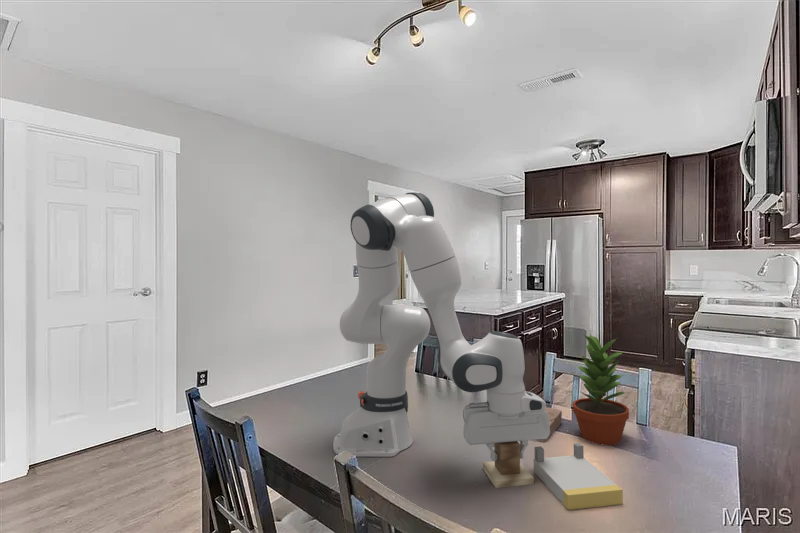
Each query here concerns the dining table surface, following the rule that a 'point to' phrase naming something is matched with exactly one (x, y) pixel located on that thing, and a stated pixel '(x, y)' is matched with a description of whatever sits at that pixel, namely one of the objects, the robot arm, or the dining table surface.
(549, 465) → the dock
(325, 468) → the dining table surface
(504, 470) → the wooden block on base
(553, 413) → the brick
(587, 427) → the potted plant
